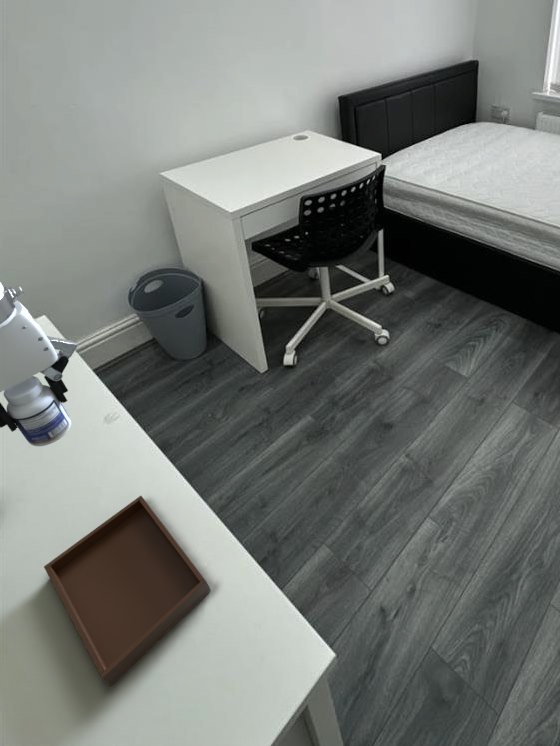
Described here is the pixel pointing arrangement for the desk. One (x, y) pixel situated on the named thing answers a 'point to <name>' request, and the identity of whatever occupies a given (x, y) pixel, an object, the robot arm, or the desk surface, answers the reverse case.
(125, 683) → the desk surface
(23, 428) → the pill bottle
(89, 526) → the desk surface
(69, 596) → the tray
